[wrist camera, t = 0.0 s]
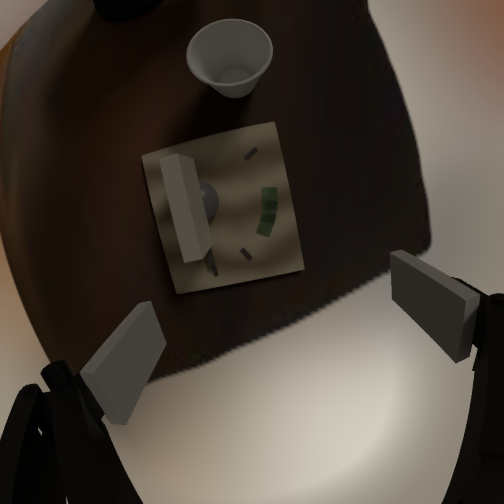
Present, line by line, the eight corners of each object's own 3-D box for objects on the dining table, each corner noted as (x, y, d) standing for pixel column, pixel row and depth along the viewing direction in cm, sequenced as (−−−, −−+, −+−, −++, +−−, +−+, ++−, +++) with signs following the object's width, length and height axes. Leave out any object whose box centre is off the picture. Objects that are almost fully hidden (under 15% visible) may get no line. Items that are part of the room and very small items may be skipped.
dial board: (144, 156, 39) (140, 155, 38) (273, 123, 38) (274, 121, 36) (178, 291, 44) (176, 294, 43) (303, 267, 43) (304, 269, 42)
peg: (169, 167, 38) (143, 163, 29) (209, 156, 38) (194, 148, 28) (194, 268, 42) (177, 293, 32) (233, 260, 42) (226, 284, 32)
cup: (265, 113, 37) (268, 90, 27) (198, 108, 37) (179, 86, 27) (271, 56, 35) (276, 21, 24) (207, 52, 35) (193, 18, 24)
